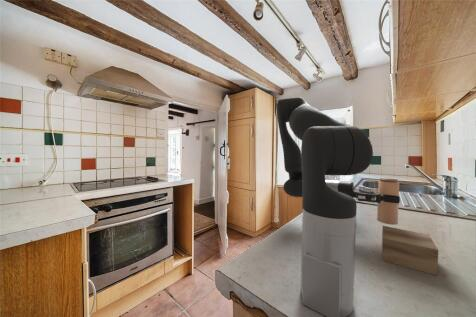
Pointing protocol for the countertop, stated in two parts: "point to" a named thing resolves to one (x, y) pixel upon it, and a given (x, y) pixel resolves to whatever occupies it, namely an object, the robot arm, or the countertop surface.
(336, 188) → the robot arm
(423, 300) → the countertop surface
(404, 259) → the pedestal
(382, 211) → the canister
